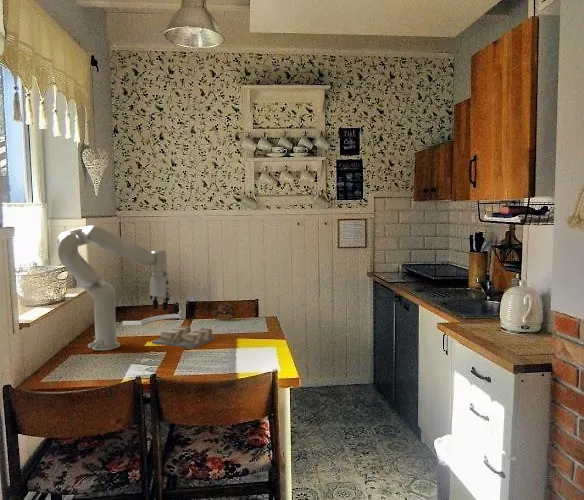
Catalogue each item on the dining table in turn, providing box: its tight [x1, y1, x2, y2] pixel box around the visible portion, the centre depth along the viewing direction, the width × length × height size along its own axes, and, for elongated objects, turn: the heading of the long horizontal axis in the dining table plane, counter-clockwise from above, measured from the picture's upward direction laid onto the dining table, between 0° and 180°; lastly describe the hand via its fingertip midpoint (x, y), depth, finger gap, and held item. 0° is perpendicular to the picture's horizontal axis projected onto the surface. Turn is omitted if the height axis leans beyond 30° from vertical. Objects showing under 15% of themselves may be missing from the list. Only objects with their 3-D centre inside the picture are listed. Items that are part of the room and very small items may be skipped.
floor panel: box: [151, 336, 216, 349], centre depth 249 cm, size 18×25×1 cm
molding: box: [121, 310, 186, 327], centre depth 300 cm, size 42×12×3 cm, turn 135°
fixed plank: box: [182, 327, 213, 346], centre depth 245 cm, size 16×6×4 cm, turn 155°
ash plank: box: [160, 325, 192, 343], centre depth 251 cm, size 16×7×4 cm, turn 155°
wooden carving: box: [210, 302, 238, 321], centre depth 296 cm, size 16×5×10 cm, turn 77°
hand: (160, 309), depth 254 cm, fingers open, 5 cm apart
